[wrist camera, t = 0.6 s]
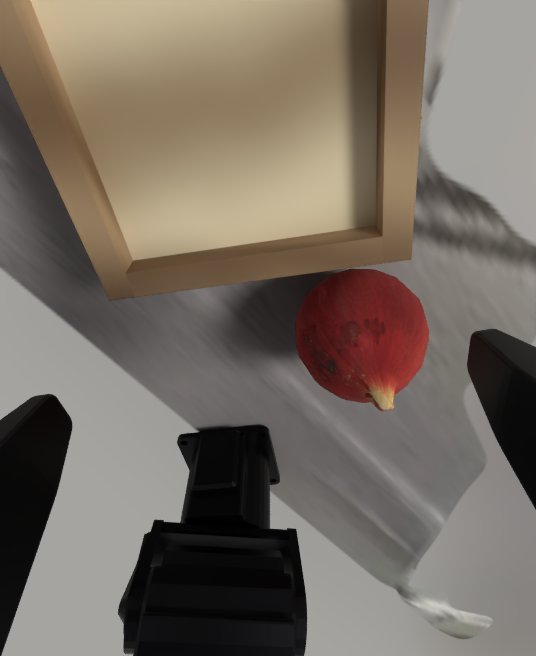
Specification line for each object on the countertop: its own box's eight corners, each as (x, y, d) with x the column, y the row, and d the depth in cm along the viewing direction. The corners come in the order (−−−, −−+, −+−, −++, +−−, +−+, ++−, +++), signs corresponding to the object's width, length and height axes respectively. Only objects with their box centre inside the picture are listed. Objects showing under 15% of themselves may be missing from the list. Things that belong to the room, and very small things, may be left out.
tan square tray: (396, 222, 19) (438, 280, 14) (134, 260, 20) (94, 325, 15) (414, -220, 11) (517, -403, 6) (-13, -116, 12) (-179, -208, 8)
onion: (276, 318, 22) (279, 434, 15) (318, 225, 19) (343, 322, 12) (369, 345, 23) (408, 464, 17) (423, 262, 20) (498, 368, 13)
